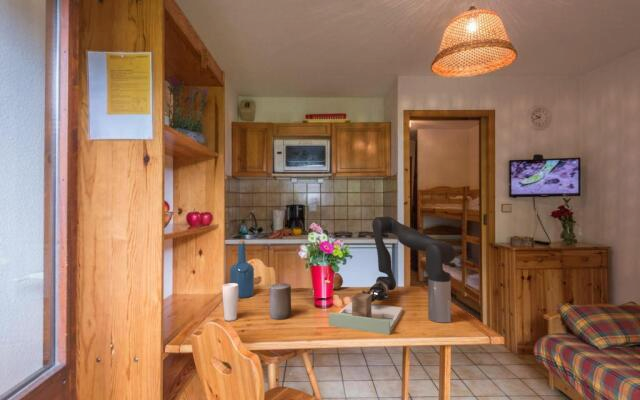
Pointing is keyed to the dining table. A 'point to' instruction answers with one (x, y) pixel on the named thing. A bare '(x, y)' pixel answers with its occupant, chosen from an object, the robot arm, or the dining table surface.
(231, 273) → the wine bottle
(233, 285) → the drinking glass
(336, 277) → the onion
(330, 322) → the shallow open tray
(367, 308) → the walnut block
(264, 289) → the dining table surface
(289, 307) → the pillar candle
